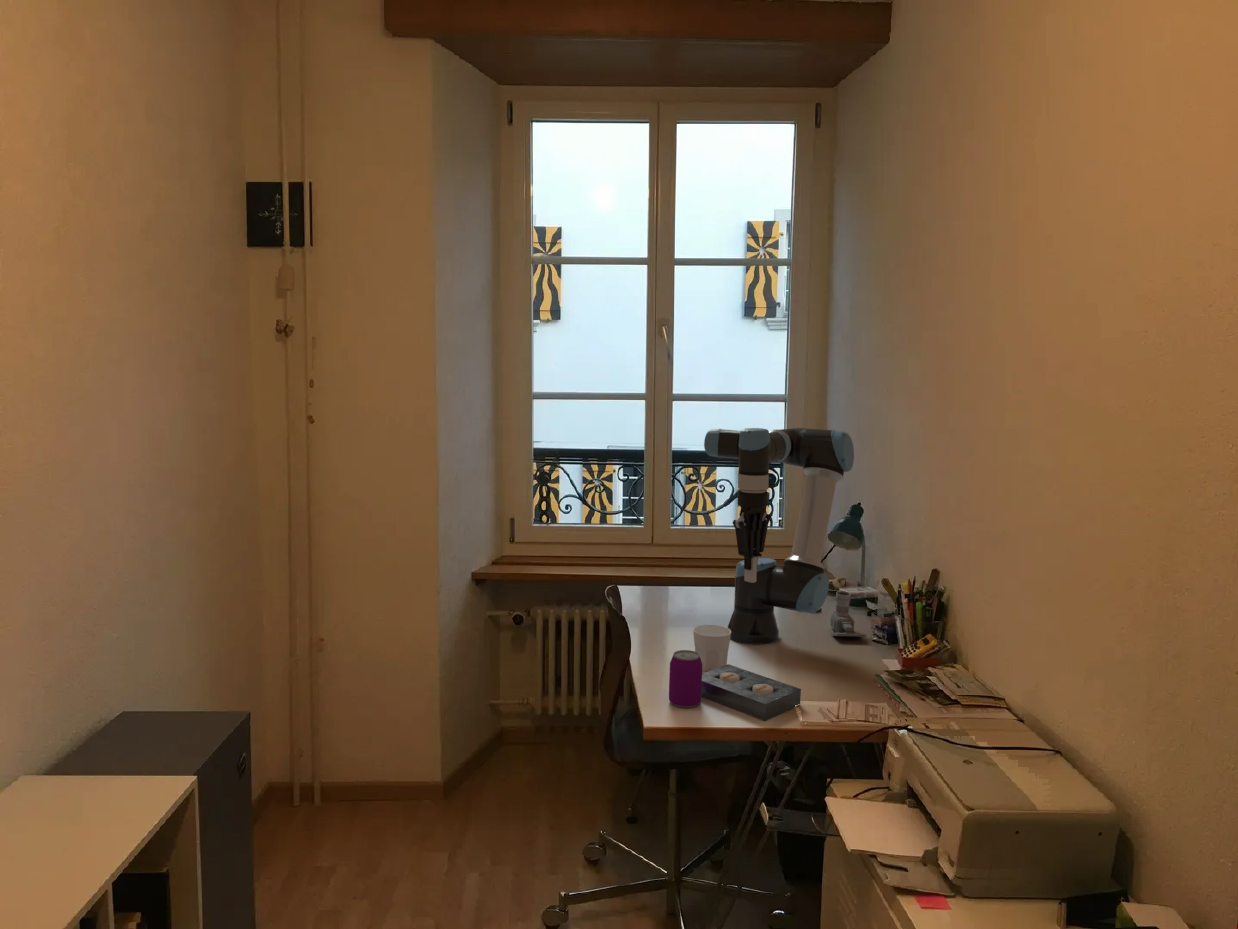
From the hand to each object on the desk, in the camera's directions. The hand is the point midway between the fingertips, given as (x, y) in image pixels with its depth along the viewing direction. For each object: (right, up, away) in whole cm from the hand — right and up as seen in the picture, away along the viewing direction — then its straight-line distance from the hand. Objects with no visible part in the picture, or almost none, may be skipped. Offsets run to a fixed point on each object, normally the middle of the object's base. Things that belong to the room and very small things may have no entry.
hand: (750, 581), depth 222 cm
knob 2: (+1, -27, -15) cm, 31 cm away
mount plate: (-3, -27, -11) cm, 29 cm away
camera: (+35, -22, +40) cm, 57 cm away
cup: (-9, -24, +11) cm, 28 cm away
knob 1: (-6, -26, -8) cm, 28 cm away
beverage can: (-18, -27, -14) cm, 36 cm away
